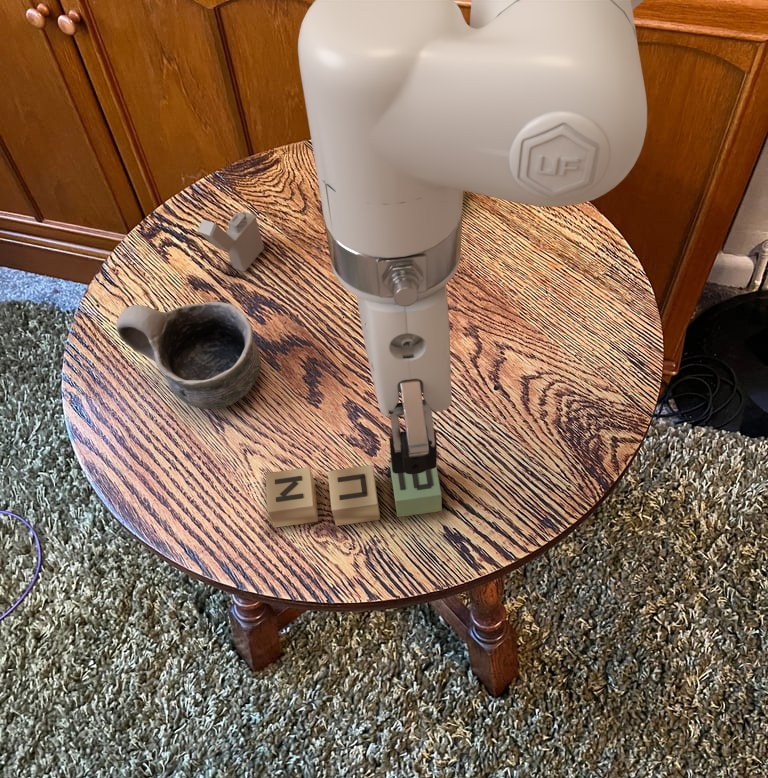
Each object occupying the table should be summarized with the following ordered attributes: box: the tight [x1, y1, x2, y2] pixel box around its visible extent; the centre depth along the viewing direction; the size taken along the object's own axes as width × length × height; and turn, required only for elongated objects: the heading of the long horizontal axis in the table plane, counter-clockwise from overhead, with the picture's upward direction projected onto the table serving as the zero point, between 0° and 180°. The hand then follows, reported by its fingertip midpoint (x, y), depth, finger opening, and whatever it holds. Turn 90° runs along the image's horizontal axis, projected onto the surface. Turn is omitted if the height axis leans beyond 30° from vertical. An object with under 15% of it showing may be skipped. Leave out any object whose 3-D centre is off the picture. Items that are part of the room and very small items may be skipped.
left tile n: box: [265, 466, 319, 528], centre depth 68 cm, size 4×4×3 cm
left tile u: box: [327, 464, 381, 527], centre depth 68 cm, size 4×4×3 cm
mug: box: [116, 301, 262, 410], centre depth 72 cm, size 10×12×10 cm
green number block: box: [389, 462, 443, 518], centre depth 68 cm, size 4×4×3 cm
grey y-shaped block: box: [197, 211, 265, 272], centre depth 81 cm, size 7×2×8 cm, turn 151°
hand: (405, 413), depth 58 cm, fingers open, 9 cm apart
